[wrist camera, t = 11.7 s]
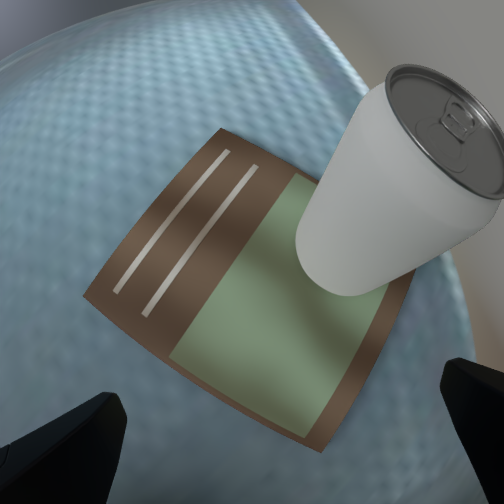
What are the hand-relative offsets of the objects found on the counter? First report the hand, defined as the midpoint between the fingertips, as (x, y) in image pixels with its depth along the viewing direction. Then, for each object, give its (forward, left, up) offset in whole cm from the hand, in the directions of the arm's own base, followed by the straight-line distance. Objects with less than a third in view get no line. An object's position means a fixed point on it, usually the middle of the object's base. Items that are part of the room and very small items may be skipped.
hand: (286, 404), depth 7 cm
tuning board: (+5, +2, -10) cm, 12 cm away
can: (+9, -1, -10) cm, 13 cm away
